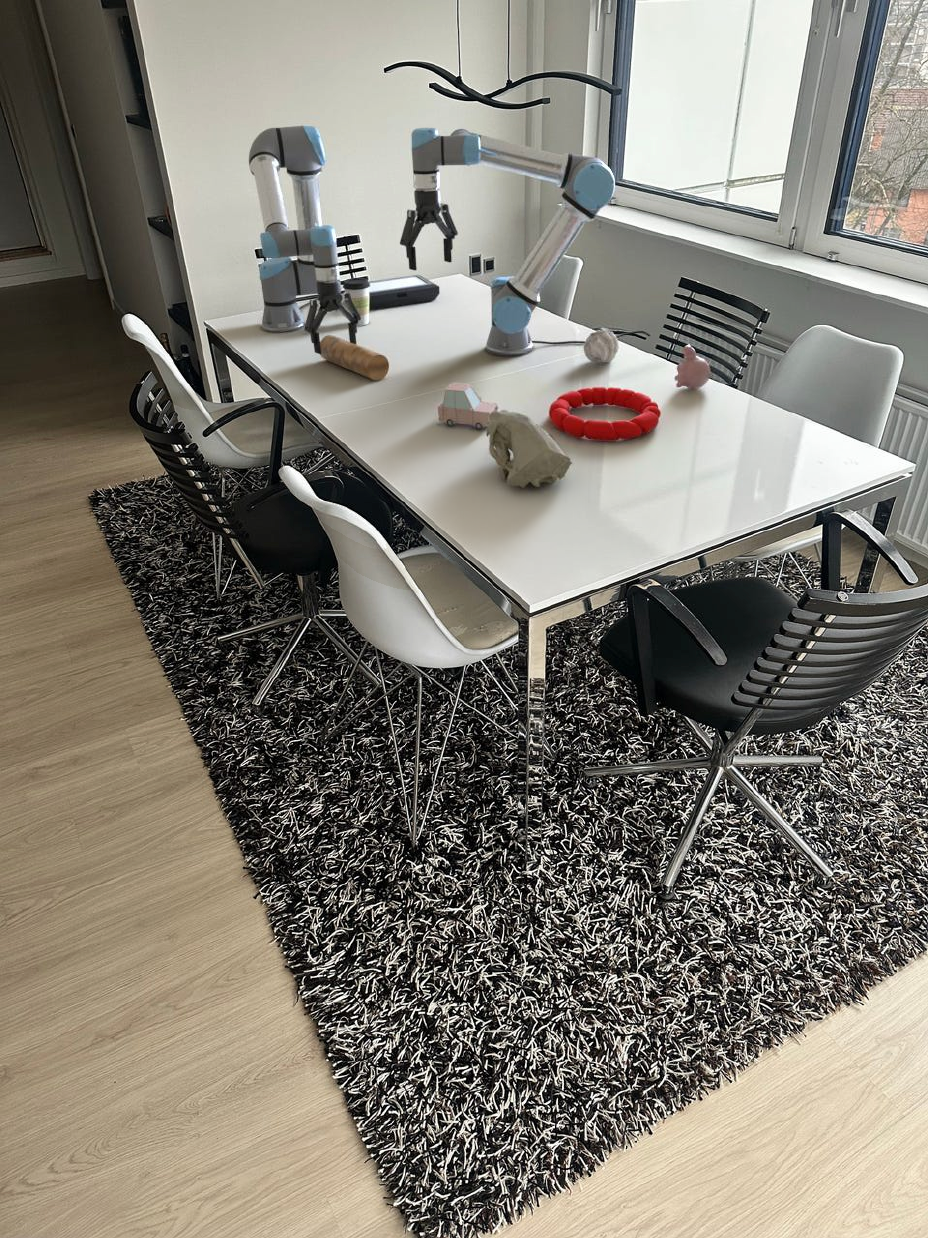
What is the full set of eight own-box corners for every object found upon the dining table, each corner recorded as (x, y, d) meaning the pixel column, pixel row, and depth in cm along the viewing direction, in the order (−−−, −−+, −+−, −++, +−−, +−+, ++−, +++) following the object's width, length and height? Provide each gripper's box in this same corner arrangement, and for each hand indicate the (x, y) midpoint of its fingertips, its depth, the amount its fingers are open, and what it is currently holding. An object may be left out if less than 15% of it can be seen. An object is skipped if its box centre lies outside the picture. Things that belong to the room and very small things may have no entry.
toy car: (488, 432, 240) (488, 396, 234) (436, 426, 244) (434, 390, 239) (499, 419, 247) (499, 384, 241) (448, 413, 252) (447, 379, 246)
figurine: (665, 387, 264) (669, 347, 257) (693, 380, 268) (698, 340, 261) (686, 396, 257) (690, 355, 250) (714, 388, 262) (720, 348, 255)
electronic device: (361, 295, 335) (344, 283, 350) (362, 312, 338) (346, 299, 353) (439, 284, 345) (420, 273, 360) (439, 300, 349) (421, 289, 364)
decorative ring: (589, 435, 224) (684, 402, 234) (527, 398, 247) (617, 369, 256) (589, 461, 229) (683, 427, 238) (529, 422, 251) (617, 393, 260)
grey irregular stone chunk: (496, 517, 219) (521, 479, 201) (463, 429, 225) (484, 384, 207) (557, 503, 225) (586, 465, 206) (523, 417, 231) (549, 373, 212)
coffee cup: (372, 326, 323) (368, 283, 314) (345, 327, 323) (340, 284, 315) (374, 318, 331) (371, 276, 322) (348, 319, 331) (344, 277, 323)
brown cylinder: (320, 362, 292) (317, 337, 288) (340, 356, 296) (337, 332, 292) (369, 383, 274) (366, 357, 270) (390, 377, 279) (388, 351, 274)
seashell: (573, 361, 285) (574, 329, 280) (611, 352, 291) (613, 322, 285) (592, 370, 278) (593, 338, 272) (630, 361, 284) (632, 330, 278)
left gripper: (300, 289, 268) (309, 359, 280) (367, 274, 281) (373, 342, 293) (287, 285, 273) (296, 354, 285) (354, 271, 286) (360, 337, 298)
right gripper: (400, 196, 249) (405, 275, 261) (468, 184, 262) (469, 260, 274) (384, 193, 254) (390, 270, 266) (451, 181, 267) (454, 256, 279)
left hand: (335, 348), depth 289 cm, fingers open, 13 cm apart
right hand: (430, 265), depth 270 cm, fingers open, 13 cm apart
